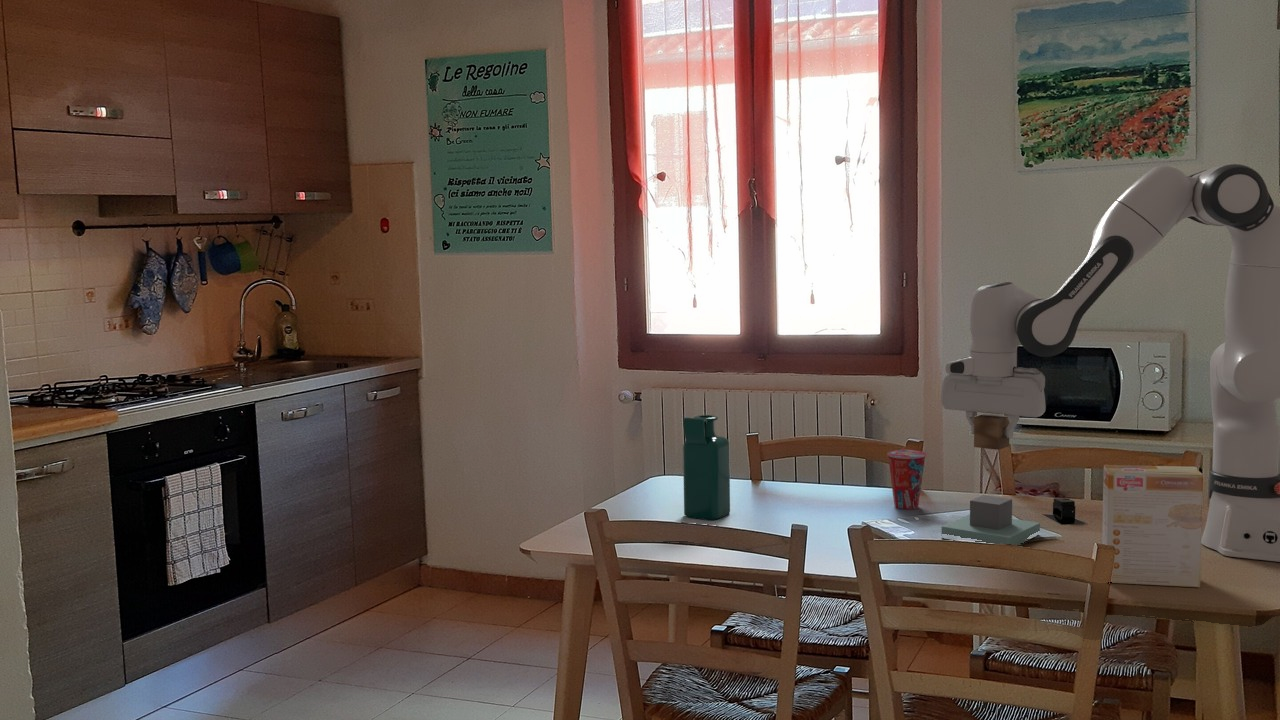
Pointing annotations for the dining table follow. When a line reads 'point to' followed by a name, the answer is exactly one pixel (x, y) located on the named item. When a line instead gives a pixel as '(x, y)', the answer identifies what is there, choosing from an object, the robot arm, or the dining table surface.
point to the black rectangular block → (1064, 512)
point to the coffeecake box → (1154, 523)
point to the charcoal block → (991, 512)
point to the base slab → (992, 531)
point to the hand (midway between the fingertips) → (991, 435)
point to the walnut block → (990, 431)
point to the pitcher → (705, 470)
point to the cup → (906, 477)
